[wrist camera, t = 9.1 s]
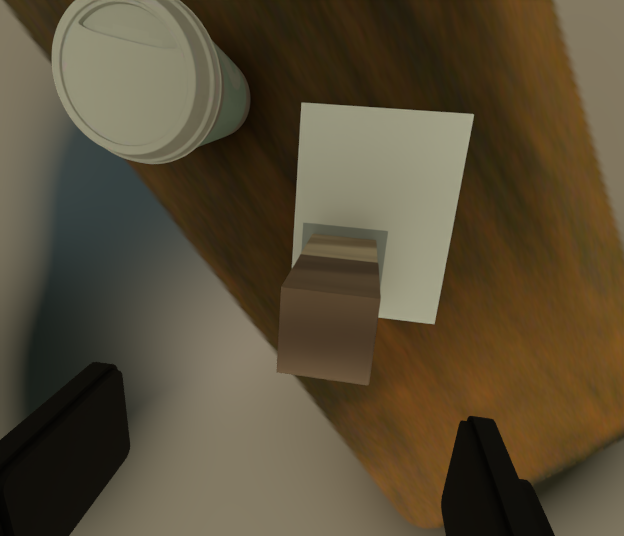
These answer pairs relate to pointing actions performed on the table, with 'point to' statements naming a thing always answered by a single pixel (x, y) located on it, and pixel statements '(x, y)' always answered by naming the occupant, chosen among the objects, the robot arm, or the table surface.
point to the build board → (384, 193)
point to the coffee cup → (145, 78)
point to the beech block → (341, 247)
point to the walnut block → (329, 319)
